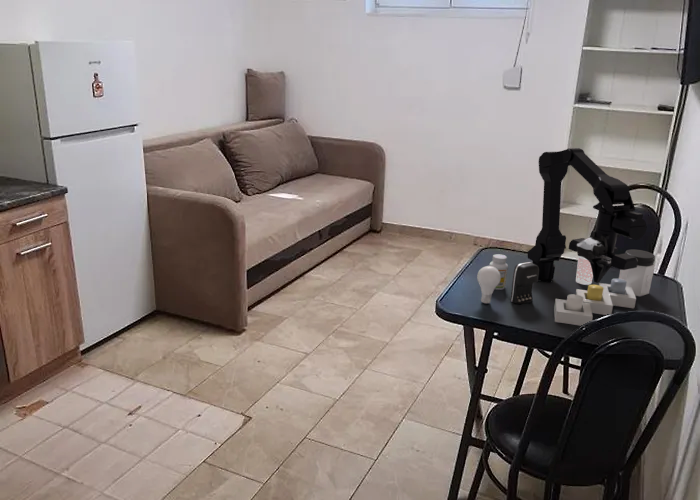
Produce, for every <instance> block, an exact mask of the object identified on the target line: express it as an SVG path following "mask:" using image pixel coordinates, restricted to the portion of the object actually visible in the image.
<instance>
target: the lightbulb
mask: <svg viewBox="0 0 700 500" xmlns="http://www.w3.org/2000/svg"><path fill="white" fill-rule="evenodd" d="M476 277H477V278H476V279H477V283H478V284H479V286H480V291H481V298H480V301H481V302H482V303H483V304H485V305H487V304H490V303H491V302H492V294H493V293H494V291H495V288H496V286H497V285H498V284H499V283H500V280H501V275H500V272H499V271H498V269H496V268H495V267H493V266H489V265H486V266H483V267H481V268H480V269H479V270H478V272H477V276H476Z"/></svg>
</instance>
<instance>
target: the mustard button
mask: <svg viewBox="0 0 700 500" xmlns="http://www.w3.org/2000/svg"><path fill="white" fill-rule="evenodd" d="M603 289H604V288H603V287H602V286H599V284H590V285H587V296H586V299H588V300H595V301H601V299H602V294H603Z"/></svg>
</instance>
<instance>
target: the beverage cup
mask: <svg viewBox="0 0 700 500" xmlns="http://www.w3.org/2000/svg"><path fill="white" fill-rule="evenodd" d="M577 257H578V258H577V266H576V275H575V276H576V277H575V283H577V284H580V285H585V286H589V285H592V283H593V280H594V278H593V273H592V268H591V264H590V262H589V261H588V260H587V259H586V258H584V257H582V256H578V255H577Z"/></svg>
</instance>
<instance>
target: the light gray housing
mask: <svg viewBox="0 0 700 500" xmlns="http://www.w3.org/2000/svg"><path fill="white" fill-rule="evenodd" d="M598 285H599V286H602V287H603V288H604V289H603V294H606V295H610V297H611V301H612V304H613V307H614V306H615V307H622V308H629V309H635V306H636V301H637V296H635V294H634V292H633V289H632V287H626V288H625V293H624V294H617V293H610V292H609V291H610V286H611V283H602V282H599V283H598Z"/></svg>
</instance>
